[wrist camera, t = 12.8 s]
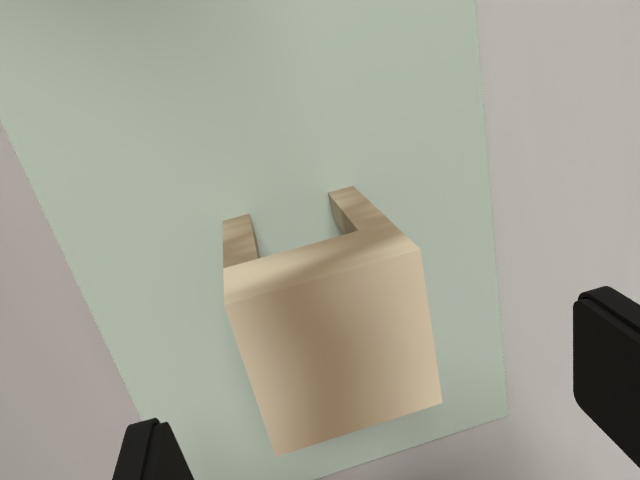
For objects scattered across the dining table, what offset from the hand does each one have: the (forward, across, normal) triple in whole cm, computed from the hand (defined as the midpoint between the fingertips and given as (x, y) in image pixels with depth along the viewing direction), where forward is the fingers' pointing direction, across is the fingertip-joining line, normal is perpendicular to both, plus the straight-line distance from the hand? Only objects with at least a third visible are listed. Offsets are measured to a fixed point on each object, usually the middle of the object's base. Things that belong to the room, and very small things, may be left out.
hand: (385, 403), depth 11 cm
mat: (+9, +1, 0) cm, 9 cm away
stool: (+9, +1, 0) cm, 9 cm away
